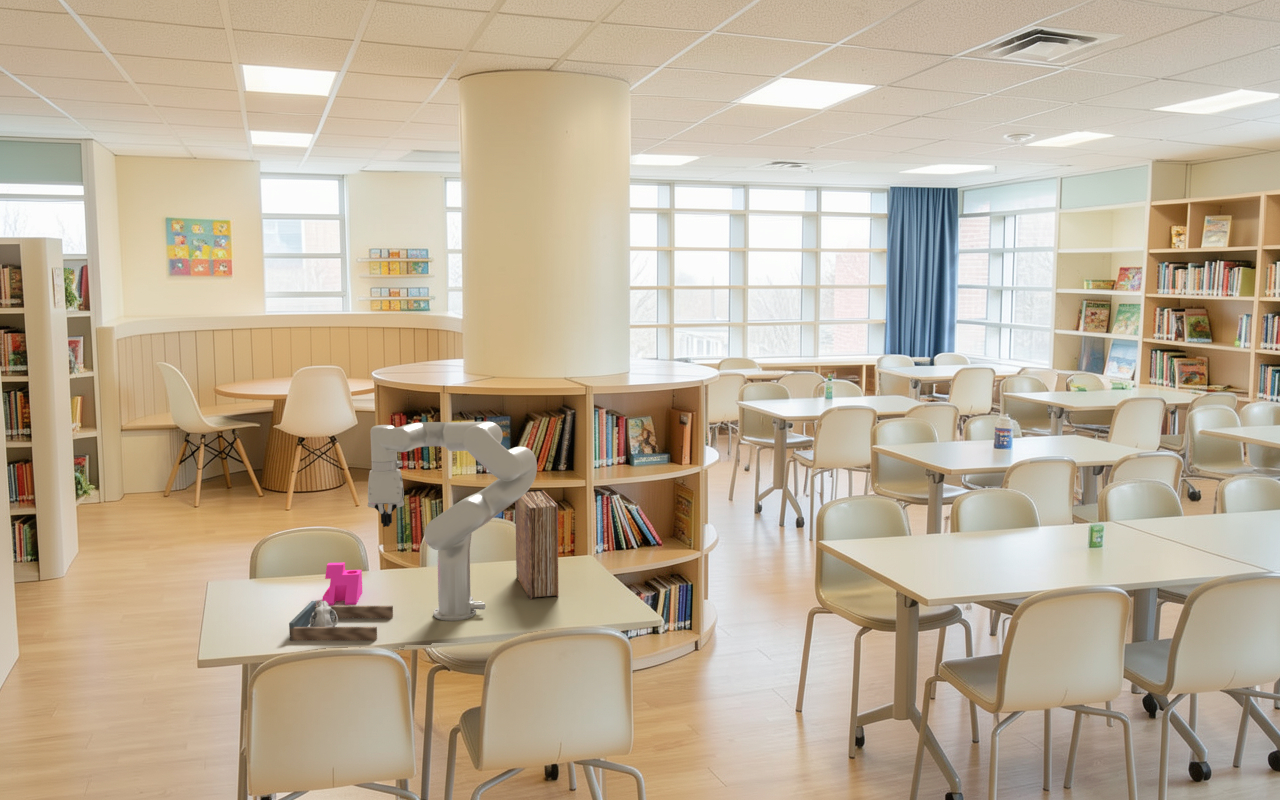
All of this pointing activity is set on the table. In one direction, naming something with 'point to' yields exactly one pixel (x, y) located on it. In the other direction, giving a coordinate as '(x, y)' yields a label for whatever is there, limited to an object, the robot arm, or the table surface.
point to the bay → (303, 632)
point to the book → (537, 544)
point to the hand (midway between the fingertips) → (386, 525)
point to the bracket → (343, 584)
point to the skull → (323, 616)
